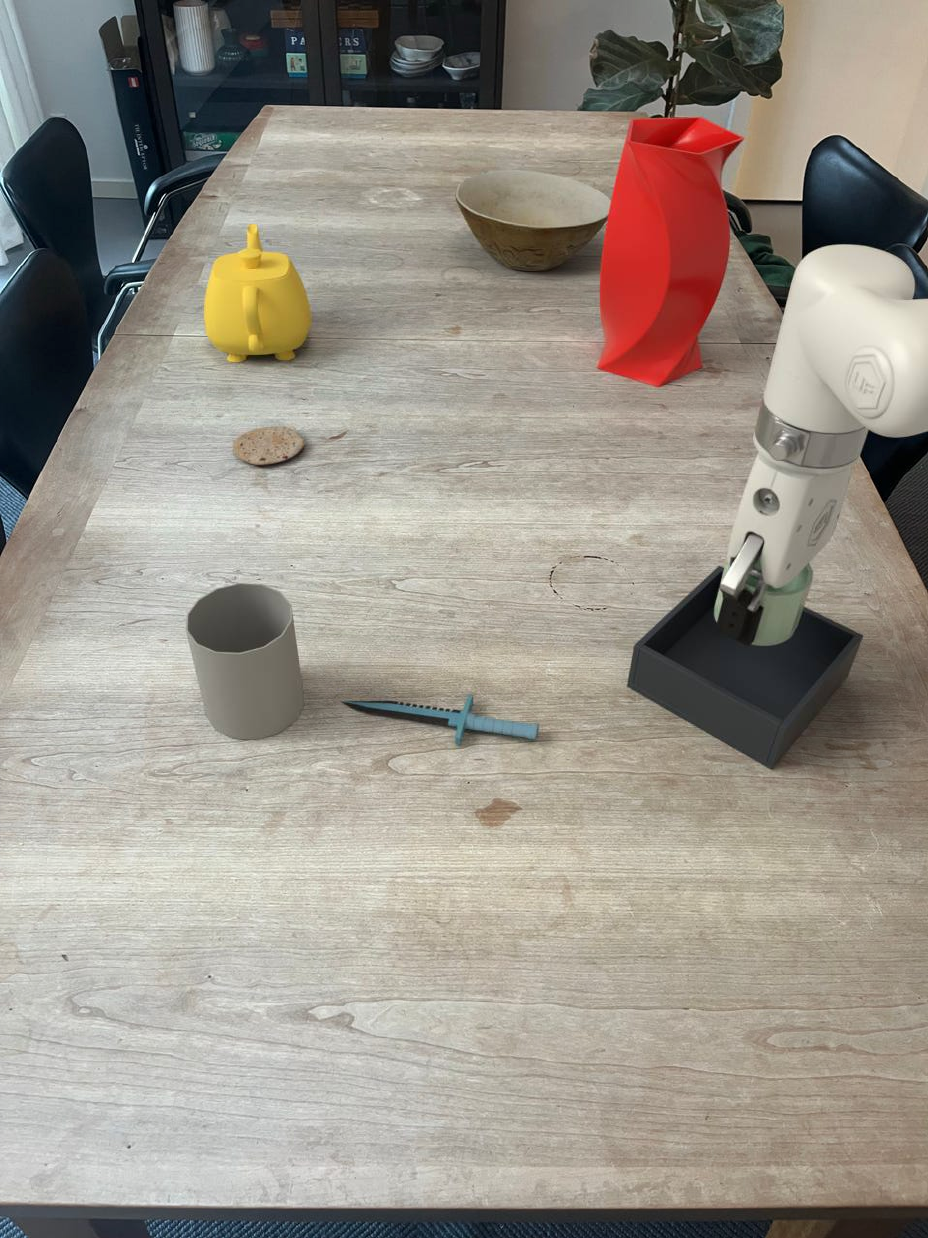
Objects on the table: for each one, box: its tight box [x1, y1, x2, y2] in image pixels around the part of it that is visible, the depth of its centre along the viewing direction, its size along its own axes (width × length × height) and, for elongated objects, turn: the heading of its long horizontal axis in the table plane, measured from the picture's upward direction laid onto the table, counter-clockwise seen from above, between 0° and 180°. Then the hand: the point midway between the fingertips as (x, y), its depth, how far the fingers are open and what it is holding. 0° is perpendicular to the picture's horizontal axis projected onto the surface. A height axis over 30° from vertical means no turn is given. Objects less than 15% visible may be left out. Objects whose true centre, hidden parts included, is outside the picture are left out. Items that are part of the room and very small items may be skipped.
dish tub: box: [626, 565, 864, 770], centre depth 87 cm, size 14×14×5 cm
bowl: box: [454, 168, 611, 272], centre depth 152 cm, size 24×24×10 cm
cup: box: [185, 582, 305, 741], centre depth 83 cm, size 8×8×10 cm
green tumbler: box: [714, 557, 814, 646], centre depth 82 cm, size 7×7×6 cm
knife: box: [340, 693, 540, 746], centre depth 85 cm, size 17×1×5 cm
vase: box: [596, 116, 746, 388], centre depth 123 cm, size 15×14×28 cm
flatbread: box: [232, 426, 306, 466], centre depth 115 cm, size 8×8×1 cm
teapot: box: [203, 223, 312, 363], centre depth 130 cm, size 14×20×13 cm
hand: (757, 611), depth 83 cm, fingers closed on green tumbler, 6 cm apart
